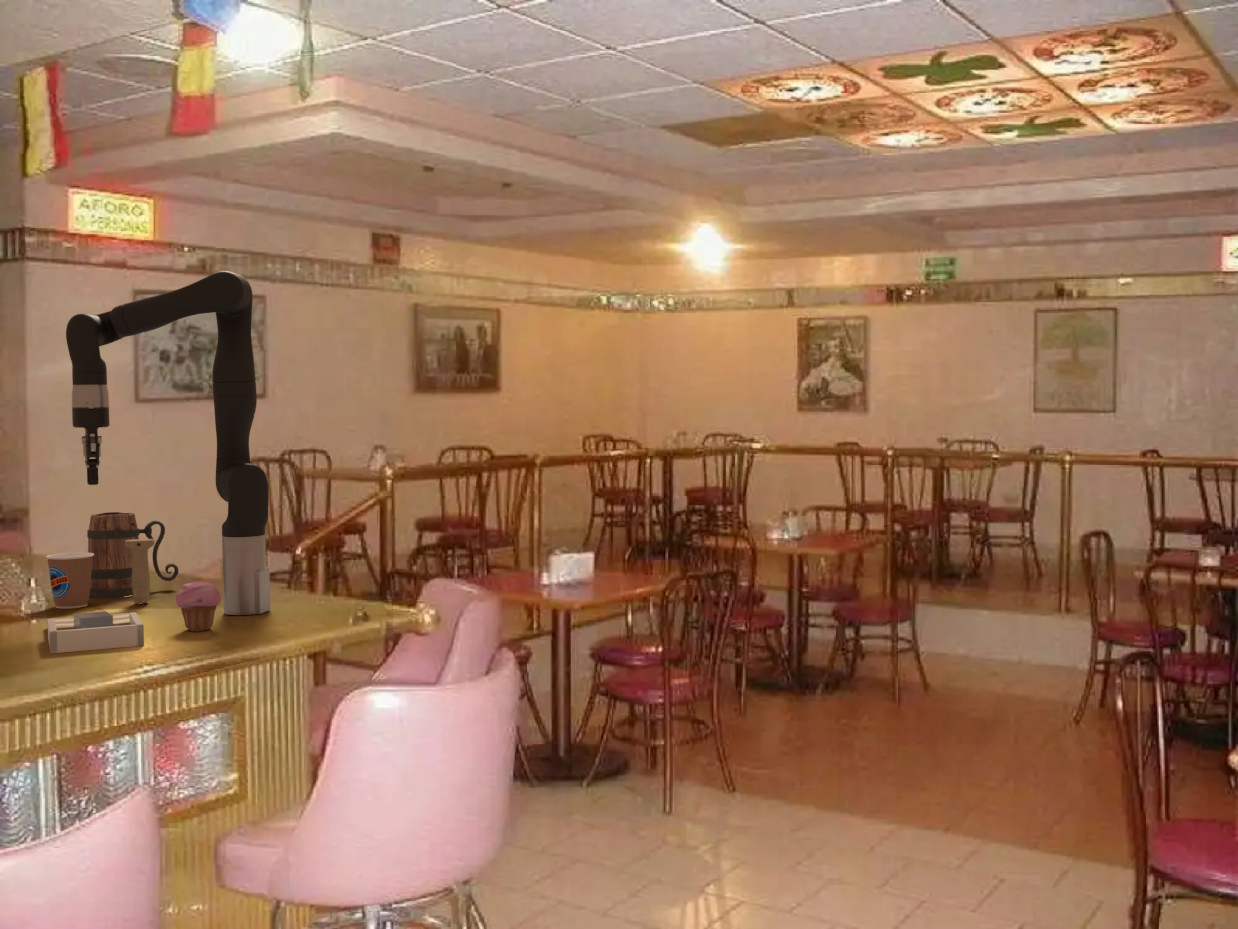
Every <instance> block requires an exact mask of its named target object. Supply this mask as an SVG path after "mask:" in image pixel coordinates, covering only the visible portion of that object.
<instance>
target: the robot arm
mask: <svg viewBox="0 0 1238 929" xmlns="http://www.w3.org/2000/svg"><path fill="white" fill-rule="evenodd" d="M253 296H254V294H253V289H252V287H251V284H250V282H249V281H248V280H247V278H245V277H244V276H242V275H240V274H239V273H235V272H232V271H229V270H219V271H215V272H214V273H212V274H210V275H208V276H205V277H204V278H202V279H199V280H197V281H195V282H192V283H191V284H188V285H186V286H183V287H180V288H178V289H174V290H172V291H168V292H165V293H161V294H157V295H153V296H150V297H145V298H141V299H137V300H133V301H130V302H126V303H123V304H120V305H117V306H114V307H113V308H112V309H111V310H109V311H106V312H102V313H98V314H93V315H92V314H88V313H78V314H75V315H73V316H72V317H71V318H70V319H69V321H68V322H67V324H66V328H65V329H66V330H65V339H66V345H67V349H68V354H69V359H70V362H71V366H72V367H71V368H72V369H71V370H72V374H71V377H72V380H71V381H72V388H71V389H72V390H71V417H72V418H71V419H72V421H71V422H72V427H73V428H74V429H75V428H76V429H77V428H78V429H80V428H81V429H84V435H81V437H80V438H81V439H80V440H81V444H82V454H83V457H84V463H85V467H86V483H87V485H89V486H96V485H97V486H98V485H99V467H100V457H101V456H102V454H101V453H102V452H101V451H102V449H101V448H102V447H101V445H102V444H103V443H102V442H103V440H102V436H101V435H99V432H98V429H99V428H108V427H109V426H110V397H109V390H108V374H107V373H108V372H107V363H106V361H105V360H104V359H103V358H102V356H101V350H100V347H103V346H105V345H106V346H107V345H109V344H112V343H115V342H117V341H119V340H122V339H123V338H126V337H132V336H135V335H140V334H142V333H147V332H150V331H153V330H157V329H159V328H162V327H164V326H167V325H169V324H171V323H173V322H176V321H178V320H179V321H180V320H181V319H183V318H184V319H185V318H188V317H191V316H197V315H202V314H210V313H215V317H216V324H217V326H216V327H217V343H216V351H215V354H214V359H213V365H212V372H211V373H212V375H211V376H212V377H211V379H212V381H211V382H212V399H213V407H214V424H215V433H216V435H215V436H216V461H215V464H216V465H215V488H216V492H217V493H218V495H219V496H220V498H221V499H222V500H224V501H225V502H227V516H226V517H227V518H226V520H225V521H223V523H222V525H221V543H222V544H221V548H222V552H221V554H222V584H223V585H222V587H223V588H222V589H223V590H222V591H223V592H222V594H223V614H225V615H231V616H245V615H247V616H248V615H261V614H264V613H266V612H268V611H270V610H271V584H270V583H271V582H270V581H271V579H270V578H271V577H270V573H271V572H270V568H269V567H267V559H266V556H267V555H266V554H267V553H266V526H267V524H268V521H269V502H270V501H269V497H270V496H269V493H270V492H269V489H270V488H269V481H268V477H267V474H266V473H265V471H264V469H262V468H261V467H260V466H258V465H256V464H254V463H251V455H250V454H251V453H250V434H251V429H252V427H253V423H254V418H255V414H256V409H257V402H258V401H257V399H258V398H257V397H258V396H257V380H256V371H255V360H254V359H255V358H254V349H253V341H252V316H253V315H252V314H253V298H254V297H253Z"/></svg>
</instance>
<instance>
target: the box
mask: <svg viewBox="0 0 1238 929" xmlns="http://www.w3.org/2000/svg"><path fill="white" fill-rule="evenodd" d="M128 613H129V618H130V625H122V626H109V627H97V628H84V629H71V630H58V631H57V630H56V625H55V620H54V617H52V618H53V619H50V618H47V619H48V629H47V640H48V646H49V654H59V653H72V652H73V653H74V652H84V651H86V652H87V651H95V650H107V649H118V648H119V649H121V648H129V647H130V648H131V647H132V648H133V647H143V646H145V630H144V627H145V626H144V623H143V622H142V620H141V618H140V617H139V615H138V614H137V613H136V612H128Z"/></svg>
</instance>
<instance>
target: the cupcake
mask: <svg viewBox="0 0 1238 929" xmlns="http://www.w3.org/2000/svg"><path fill="white" fill-rule="evenodd" d="M175 597H176V598H175V603H176V605H177V606H178V607H179V608H180V610H181V615H182V618H183V620H184V624H185V625H184V626H185V627H186V629H188V631H189V632H196V633H197V632H202V631H208V630H209V629H211V628H212V627H213V625H214V620H215V613H216V609H217V606H219V604H221V592H220V590H219V588H218V587H217V586H216V585H215V584H214V583H211V582H203V581H199V580H198V581H197V580H195V581H193V582H189V583H188V582H187V583H184V584H183V585H182V587H181V589H180V590H179V592H178V593H176V596H175Z"/></svg>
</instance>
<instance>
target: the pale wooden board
mask: <svg viewBox="0 0 1238 929" xmlns="http://www.w3.org/2000/svg"><path fill="white" fill-rule="evenodd" d="M129 613H130V612H121V613H110V614H111V615H113V626H122V625H130V618H129ZM53 618H54V617H52V618H51V617H50V618H46V621H47V622H46V624H47V626H48V619H53ZM54 620H55V625H56V630H57V631H58V630H71V629H74V616H65V617H55V618H54ZM47 626H46V627H47Z"/></svg>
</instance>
